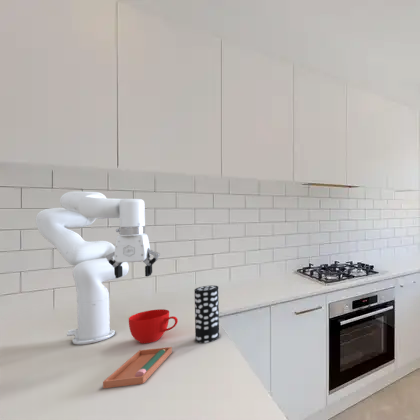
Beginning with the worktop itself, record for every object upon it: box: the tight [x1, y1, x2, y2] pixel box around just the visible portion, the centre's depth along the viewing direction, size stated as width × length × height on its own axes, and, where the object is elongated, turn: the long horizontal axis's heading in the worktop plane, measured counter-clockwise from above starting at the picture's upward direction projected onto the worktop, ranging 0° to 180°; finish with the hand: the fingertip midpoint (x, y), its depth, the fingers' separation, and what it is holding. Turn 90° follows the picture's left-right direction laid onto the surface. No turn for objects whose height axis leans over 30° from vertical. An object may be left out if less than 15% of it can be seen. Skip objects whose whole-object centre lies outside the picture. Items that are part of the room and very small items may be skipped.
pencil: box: [135, 349, 165, 377], centre depth 100 cm, size 16×2×2 cm, turn 13°
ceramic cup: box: [128, 308, 179, 344], centre depth 122 cm, size 13×17×10 cm
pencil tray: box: [102, 346, 173, 389], centre depth 100 cm, size 10×20×2 cm, turn 13°
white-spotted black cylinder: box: [194, 285, 220, 344], centre depth 122 cm, size 8×8×20 cm
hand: (133, 276), depth 117 cm, fingers open, 9 cm apart
